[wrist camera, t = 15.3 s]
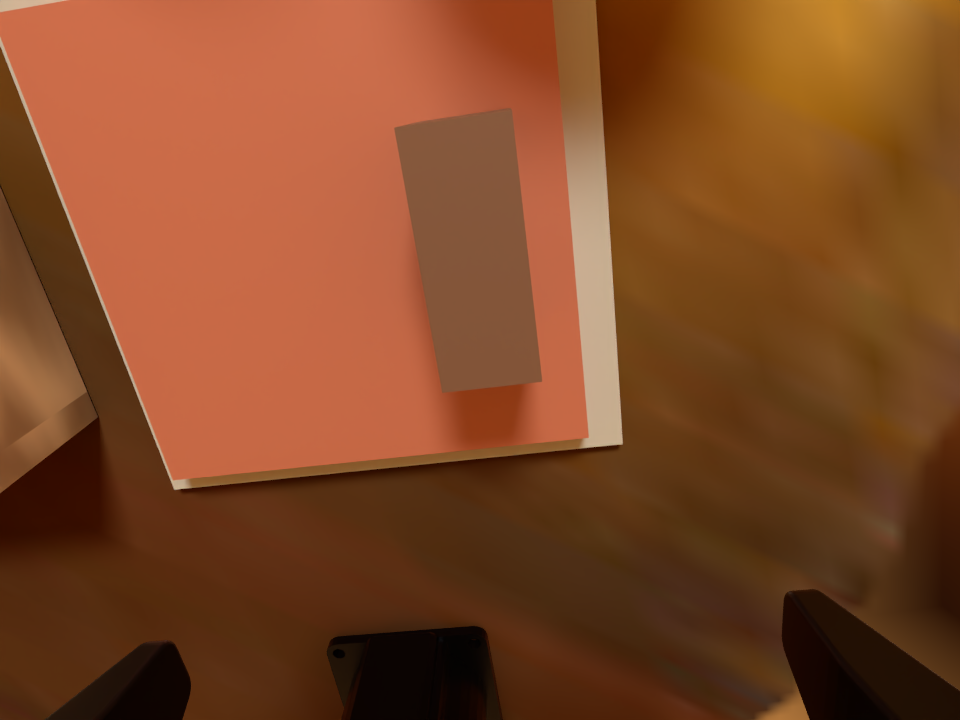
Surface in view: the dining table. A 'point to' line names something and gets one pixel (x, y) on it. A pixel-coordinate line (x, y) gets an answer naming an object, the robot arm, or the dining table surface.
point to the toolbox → (32, 365)
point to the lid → (318, 219)
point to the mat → (589, 248)
